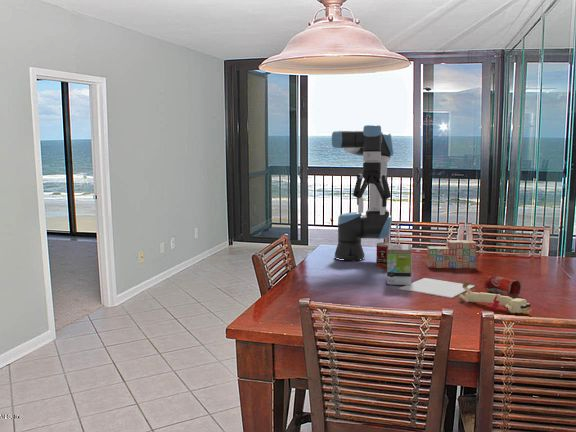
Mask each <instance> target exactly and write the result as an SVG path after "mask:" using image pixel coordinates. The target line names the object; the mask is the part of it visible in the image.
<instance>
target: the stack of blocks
mask: <svg viewBox="0 0 576 432" xmlns="http://www.w3.org/2000/svg"><path fill="white" fill-rule="evenodd" d="M426 266H427V267H428V268H429V269H431V268H432V269H435V268H436V269H441V268H442V269H476V268H477V267H476V266H477V242H476V241H474V240H466V239H463V240H462V239H460V240H457V239H454V240H452V239H451V240H450V239H448V240H446V246H431V245H430V246H428V245H427V250H426Z"/></svg>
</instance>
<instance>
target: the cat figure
mask: <svg viewBox="0 0 576 432" xmlns="http://www.w3.org/2000/svg"><path fill="white" fill-rule="evenodd" d="M470 283H471V282H470V281H469V280H465V282H464V283H462V284H463V289H464V290H466V291H465V292H464V295H463V294H459V298H458V301H459V302H460V303H464V301H465V302H466V303H468V302H469V303H488V304H489V303H490V304H492V308H493V310H494V311H496V312H497V311H498V310H497V309H498V308H499V306H504V308H508V312H509V313H511V314H516V313H517V314H524V315H526V314H527V315H528V314H530V312H531V311H532V309H528V308H530V307H531V303H530V302H528V301H527V300H526V299H525V298H520V297H515V298H514V297H513V298H512V297H509V296H507V294H506V293H504V292H503V293H504V295H505V296H503V295H500V294H495V293H490V292H481V291H480V292H474V291H472V290H471V289H469V288H468V287H467V286H469V285H471V284H470Z"/></svg>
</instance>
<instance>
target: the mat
mask: <svg viewBox="0 0 576 432" xmlns="http://www.w3.org/2000/svg"><path fill="white" fill-rule="evenodd" d="M463 284H464V283H459V282H454V281H446V280H440V279H434V278H428V277H423V278H421V279H418V280H415V281H413V282H411V285H402V286H401V287H399V288H398V290H403V291H409V292H413V293H414V292H415V293H420V294H426V295H431V296H437V297H443V298H449V299H453V298H455V297H458V296H460V295H462V294H463V293H466V292H467V291H466V290H464V289H463ZM467 287H468V288H469V290H471V289H473V288H475V287H476V285H473V284H470V285H469V286H467Z"/></svg>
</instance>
